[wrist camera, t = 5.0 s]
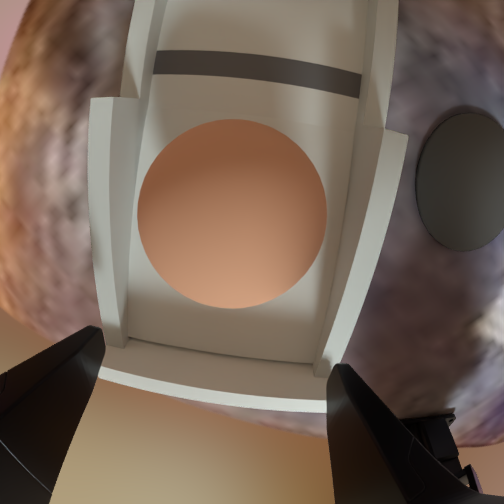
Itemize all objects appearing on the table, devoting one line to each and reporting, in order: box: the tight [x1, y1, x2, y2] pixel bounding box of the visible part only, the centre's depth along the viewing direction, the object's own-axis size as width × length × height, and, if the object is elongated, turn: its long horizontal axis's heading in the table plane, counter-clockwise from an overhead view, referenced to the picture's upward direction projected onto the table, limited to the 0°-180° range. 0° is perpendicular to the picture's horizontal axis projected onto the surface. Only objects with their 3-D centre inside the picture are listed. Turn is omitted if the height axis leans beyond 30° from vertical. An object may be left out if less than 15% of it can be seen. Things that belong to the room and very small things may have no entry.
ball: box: [137, 119, 327, 309], centre depth 8 cm, size 5×5×5 cm
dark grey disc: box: [416, 113, 504, 251], centre depth 12 cm, size 7×7×1 cm
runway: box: [88, 0, 409, 413], centre depth 9 cm, size 18×9×6 cm, turn 173°
